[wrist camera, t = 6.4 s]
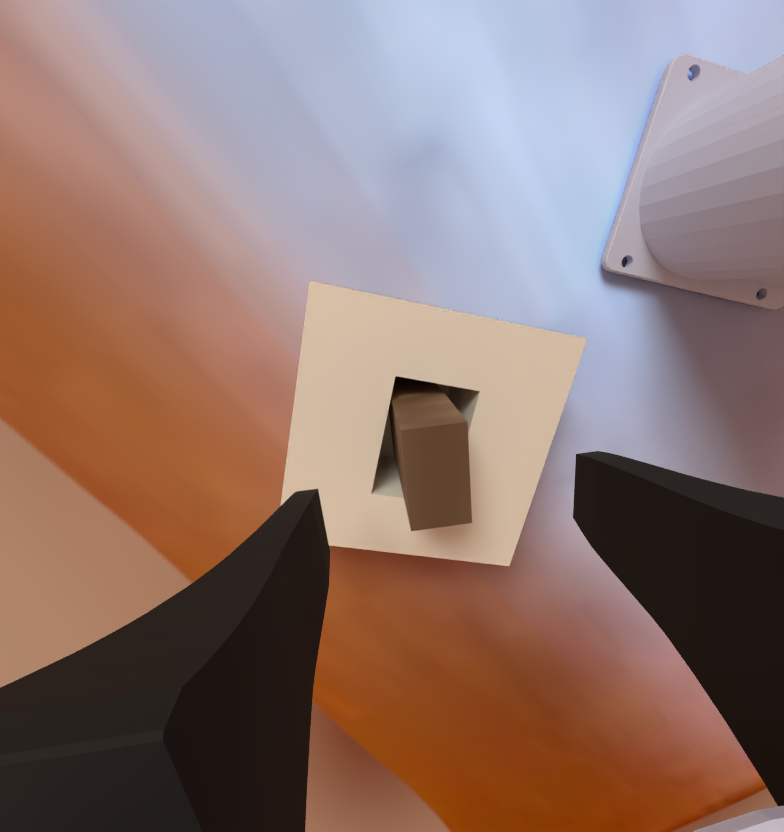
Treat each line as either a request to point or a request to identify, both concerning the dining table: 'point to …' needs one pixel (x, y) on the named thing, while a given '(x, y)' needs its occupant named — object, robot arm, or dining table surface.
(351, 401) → the cream square hole block
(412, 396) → the brown rectangular block
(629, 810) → the dining table surface
